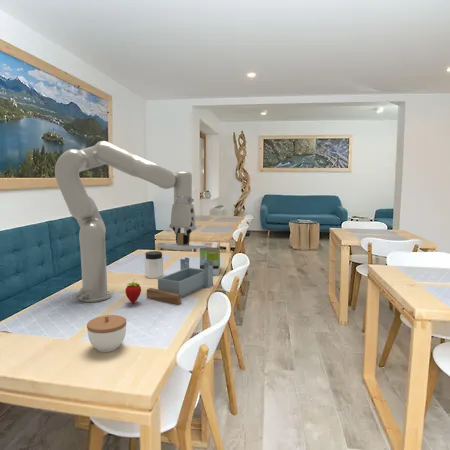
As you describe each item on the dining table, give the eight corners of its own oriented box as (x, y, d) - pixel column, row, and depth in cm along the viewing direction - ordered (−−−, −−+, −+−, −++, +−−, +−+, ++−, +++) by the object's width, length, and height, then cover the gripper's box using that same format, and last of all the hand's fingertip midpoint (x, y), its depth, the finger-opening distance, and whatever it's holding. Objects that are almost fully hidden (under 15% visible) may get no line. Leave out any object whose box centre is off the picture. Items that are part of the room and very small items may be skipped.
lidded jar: (130, 338, 109) (129, 309, 108) (121, 356, 99) (120, 323, 97) (95, 339, 109) (93, 309, 108) (82, 356, 98) (80, 324, 97)
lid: (177, 250, 143) (178, 234, 143) (157, 247, 148) (158, 232, 148) (206, 247, 162) (207, 233, 162) (187, 245, 167) (188, 231, 167)
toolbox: (183, 300, 144) (183, 272, 143) (154, 294, 151) (153, 267, 150) (213, 285, 164) (212, 260, 163) (185, 280, 171) (185, 257, 170)
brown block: (177, 305, 138) (177, 295, 138) (146, 298, 146) (146, 289, 146) (181, 304, 140) (181, 294, 140) (150, 297, 148) (150, 287, 148)
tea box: (219, 275, 180) (219, 246, 179) (199, 275, 181) (199, 246, 179) (220, 268, 195) (220, 241, 193) (201, 268, 196) (201, 241, 194)
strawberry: (143, 300, 144) (142, 276, 142) (139, 307, 136) (138, 281, 135) (128, 300, 143) (127, 276, 142) (123, 307, 136) (122, 281, 135)
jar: (166, 276, 178) (165, 253, 177) (151, 279, 173) (150, 255, 172) (157, 273, 185) (156, 250, 184) (142, 275, 180) (142, 252, 179)
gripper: (203, 201, 152) (203, 244, 154) (172, 199, 159) (172, 240, 162) (193, 202, 145) (193, 246, 147) (161, 200, 153) (161, 242, 155)
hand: (182, 243), depth 154 cm, fingers closed on lid, 3 cm apart
